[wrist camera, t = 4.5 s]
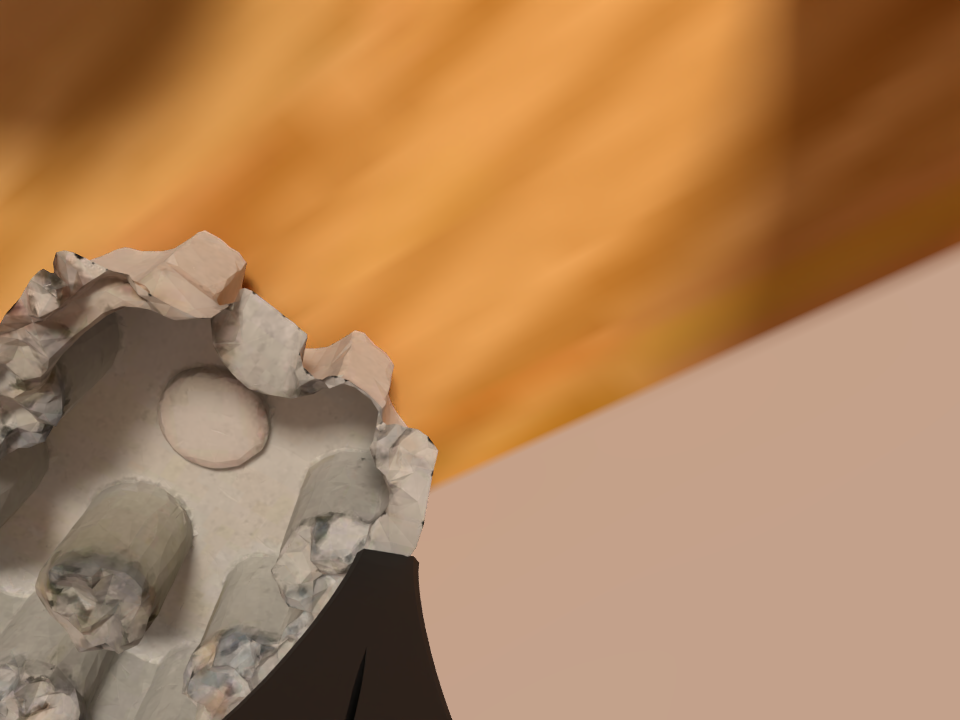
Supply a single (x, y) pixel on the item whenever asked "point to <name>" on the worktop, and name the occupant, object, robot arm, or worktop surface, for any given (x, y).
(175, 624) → the egg carton
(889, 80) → the worktop surface
